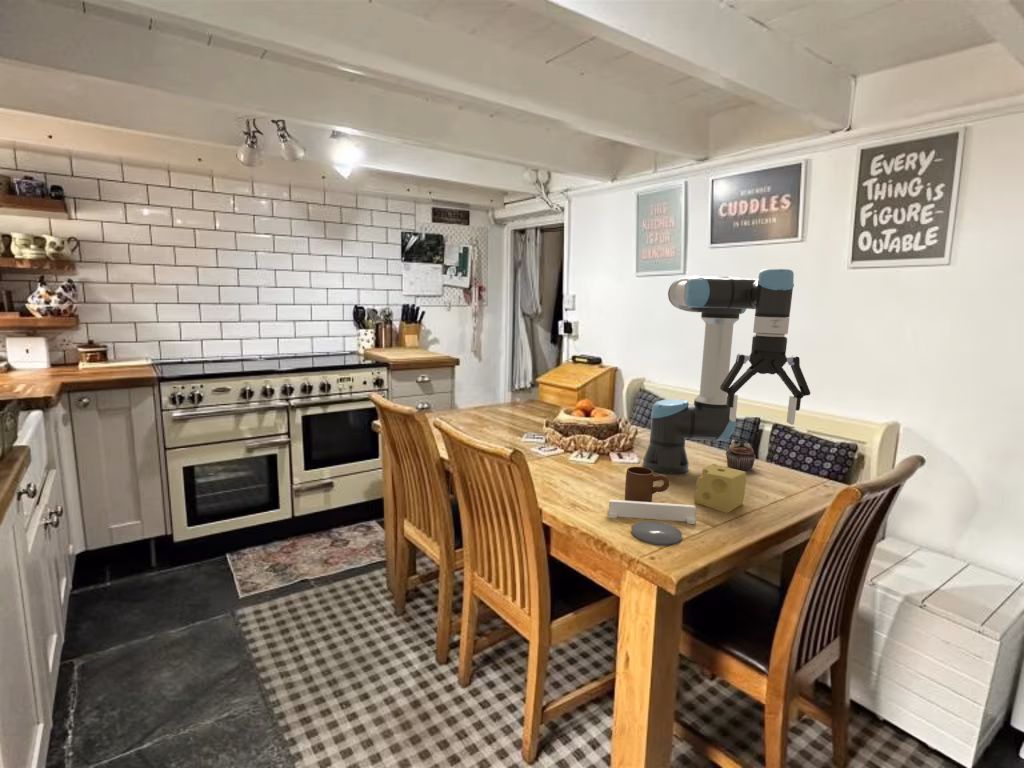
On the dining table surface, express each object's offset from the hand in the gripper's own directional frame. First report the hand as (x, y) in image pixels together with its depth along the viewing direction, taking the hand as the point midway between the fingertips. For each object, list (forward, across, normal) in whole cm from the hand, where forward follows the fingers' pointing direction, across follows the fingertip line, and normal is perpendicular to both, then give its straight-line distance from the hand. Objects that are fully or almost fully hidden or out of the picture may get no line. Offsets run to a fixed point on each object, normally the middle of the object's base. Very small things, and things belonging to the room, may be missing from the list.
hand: (761, 422), depth 133 cm
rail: (+28, -24, +3) cm, 37 cm away
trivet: (+28, -24, -7) cm, 38 cm away
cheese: (+28, -3, +17) cm, 33 cm away
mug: (+28, -24, +13) cm, 39 cm away
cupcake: (+28, +12, +54) cm, 62 cm away
